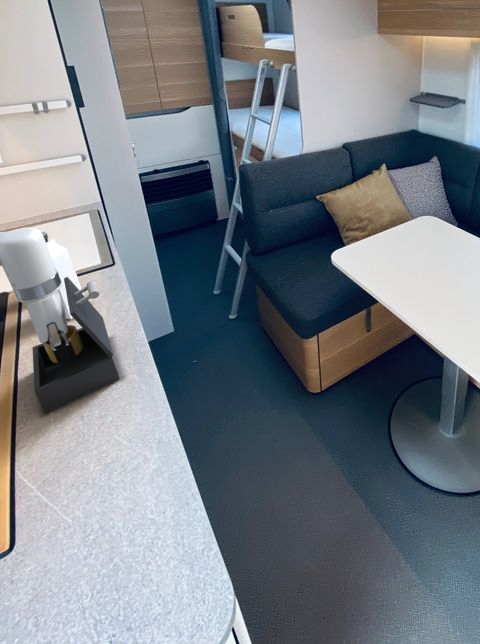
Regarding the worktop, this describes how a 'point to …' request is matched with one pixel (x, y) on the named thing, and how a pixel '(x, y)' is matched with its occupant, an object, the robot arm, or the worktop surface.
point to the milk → (63, 271)
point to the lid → (88, 313)
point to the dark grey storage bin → (71, 374)
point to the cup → (72, 337)
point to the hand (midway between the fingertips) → (66, 350)
